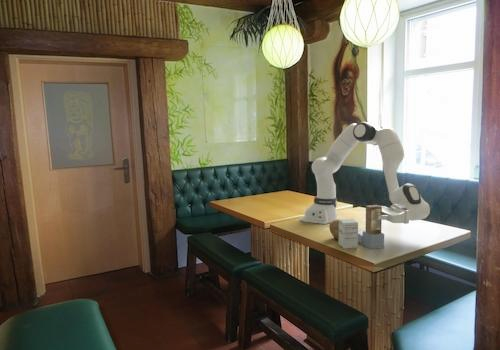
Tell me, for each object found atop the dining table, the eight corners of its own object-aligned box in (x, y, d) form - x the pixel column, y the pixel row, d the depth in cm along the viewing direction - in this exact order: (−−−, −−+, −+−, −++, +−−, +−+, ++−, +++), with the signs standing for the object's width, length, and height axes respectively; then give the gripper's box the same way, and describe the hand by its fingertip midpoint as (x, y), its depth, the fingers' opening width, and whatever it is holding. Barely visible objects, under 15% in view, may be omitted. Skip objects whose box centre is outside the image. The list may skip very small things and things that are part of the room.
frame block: (376, 230, 186) (377, 204, 184) (381, 233, 182) (381, 206, 181) (365, 231, 185) (365, 205, 183) (369, 234, 181) (370, 207, 179)
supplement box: (338, 243, 189) (338, 218, 187) (352, 243, 189) (353, 218, 188) (343, 248, 181) (343, 222, 180) (358, 248, 182) (358, 222, 180)
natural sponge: (345, 236, 201) (345, 217, 200) (349, 241, 192) (349, 222, 191) (328, 236, 201) (328, 217, 200) (330, 241, 193) (331, 222, 191)
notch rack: (366, 237, 197) (366, 225, 196) (384, 247, 182) (384, 234, 181) (354, 239, 196) (354, 226, 195) (370, 248, 180) (370, 235, 179)
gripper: (385, 202, 195) (361, 204, 192) (411, 211, 175) (384, 213, 172) (385, 214, 196) (360, 216, 193) (410, 224, 176) (383, 227, 173)
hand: (372, 215), depth 182 cm, fingers open, 8 cm apart
